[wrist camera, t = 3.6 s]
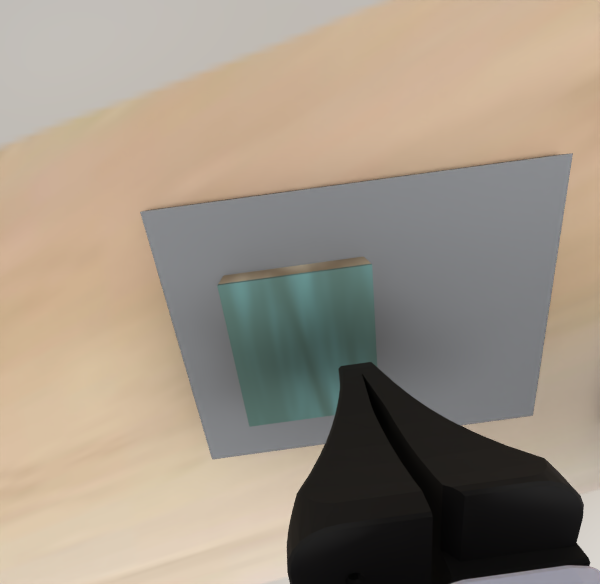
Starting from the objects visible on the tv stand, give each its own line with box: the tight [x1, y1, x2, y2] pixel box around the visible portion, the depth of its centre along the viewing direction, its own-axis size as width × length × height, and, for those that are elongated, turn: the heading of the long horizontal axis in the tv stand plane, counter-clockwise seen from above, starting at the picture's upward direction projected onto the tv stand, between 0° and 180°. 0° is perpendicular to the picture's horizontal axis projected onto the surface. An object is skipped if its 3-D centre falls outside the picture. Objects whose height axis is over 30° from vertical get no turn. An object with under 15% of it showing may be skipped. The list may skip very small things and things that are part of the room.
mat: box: [140, 153, 573, 459], centre depth 17 cm, size 20×15×1 cm
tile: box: [217, 257, 377, 427], centre depth 16 cm, size 2×8×7 cm
